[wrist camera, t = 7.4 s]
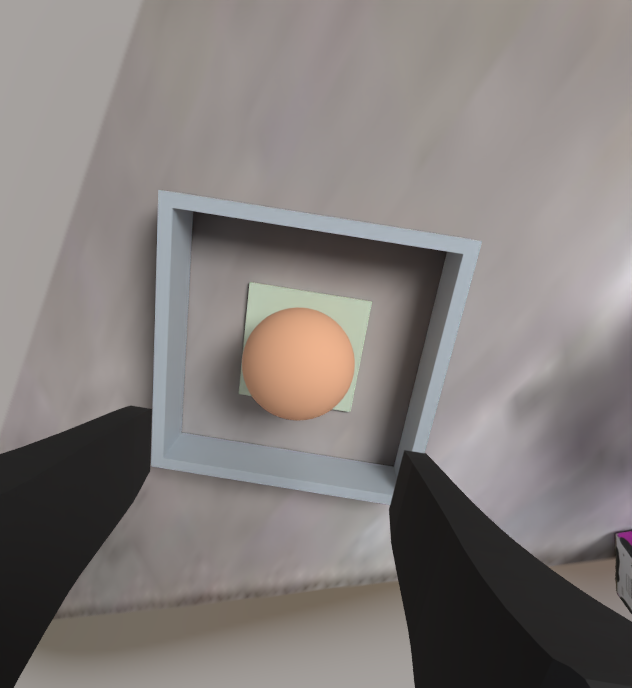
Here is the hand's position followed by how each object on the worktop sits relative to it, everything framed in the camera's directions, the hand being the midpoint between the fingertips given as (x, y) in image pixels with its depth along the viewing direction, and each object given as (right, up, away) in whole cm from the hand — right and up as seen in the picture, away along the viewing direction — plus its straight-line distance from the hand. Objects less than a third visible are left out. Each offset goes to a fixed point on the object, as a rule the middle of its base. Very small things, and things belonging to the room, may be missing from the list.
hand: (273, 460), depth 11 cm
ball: (+1, +3, +9) cm, 10 cm away
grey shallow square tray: (+1, +3, +9) cm, 10 cm away
